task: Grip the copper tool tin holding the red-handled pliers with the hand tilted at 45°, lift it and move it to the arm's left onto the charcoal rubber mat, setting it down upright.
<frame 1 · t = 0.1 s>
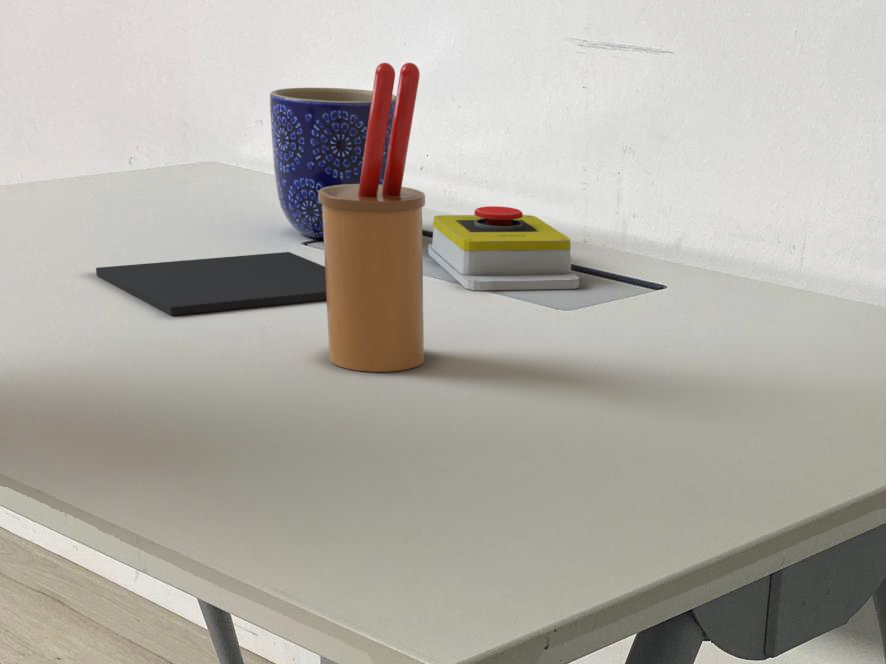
planter: (340, 236, 127), on the table
emergency button: (500, 271, 117), on the table
pliers tin: (376, 359, 92), on the table
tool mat: (235, 285, 107), on the table
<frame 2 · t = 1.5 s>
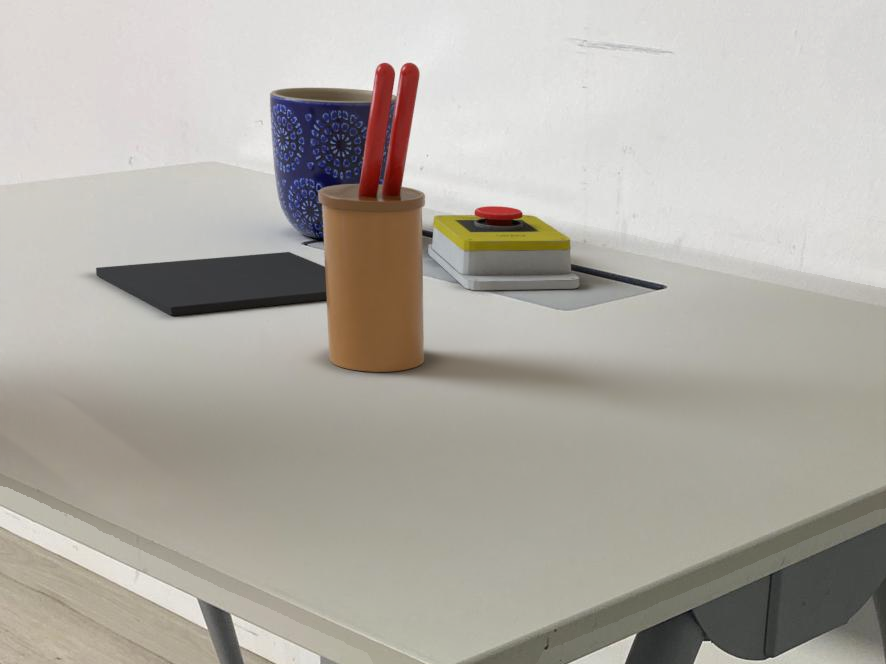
nothing on the table moved.
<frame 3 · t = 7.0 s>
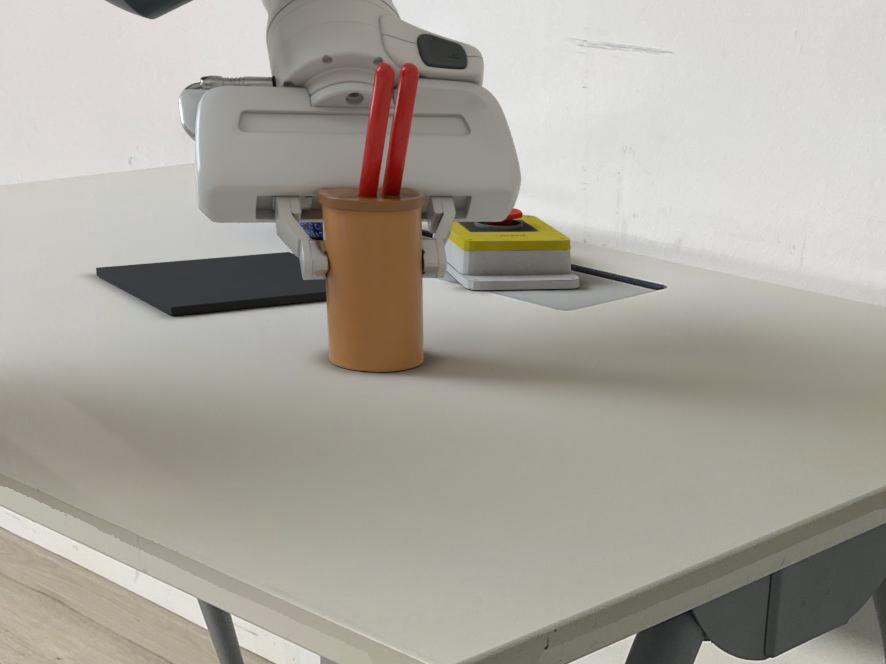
hand: (376, 273, 88), 5 cm above the table, tool tilted 45°, fingers closed on pliers tin, 6 cm apart
pliers tin: (376, 359, 92), on the table, touching gripper
everything else where it was.
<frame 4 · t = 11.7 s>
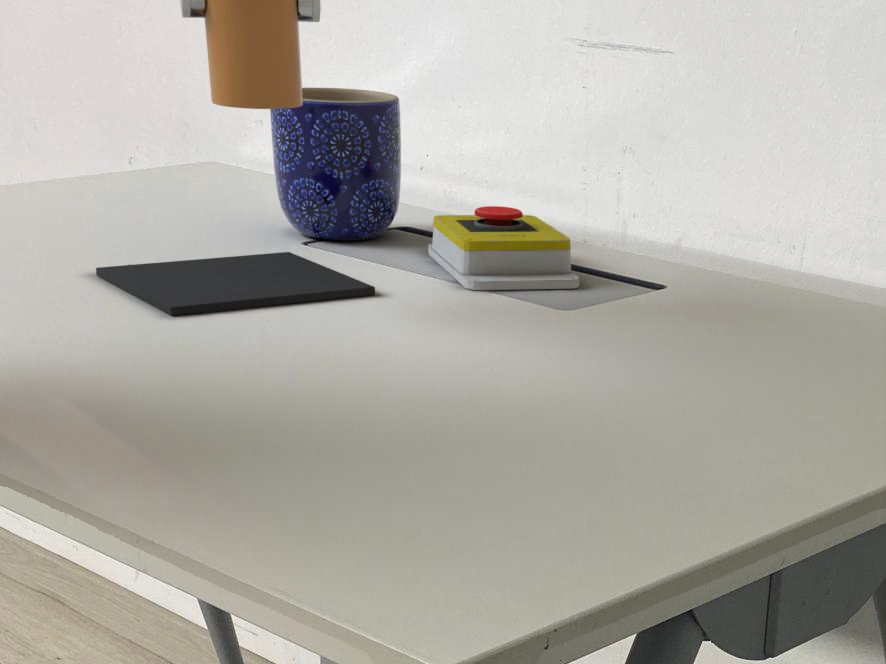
hand: (252, 13, 93), 18 cm above the table, tool tilted 45°, fingers closed on pliers tin, 6 cm apart
pliers tin: (257, 103, 96), point 13 cm above the table, touching gripper
everything else where it was.
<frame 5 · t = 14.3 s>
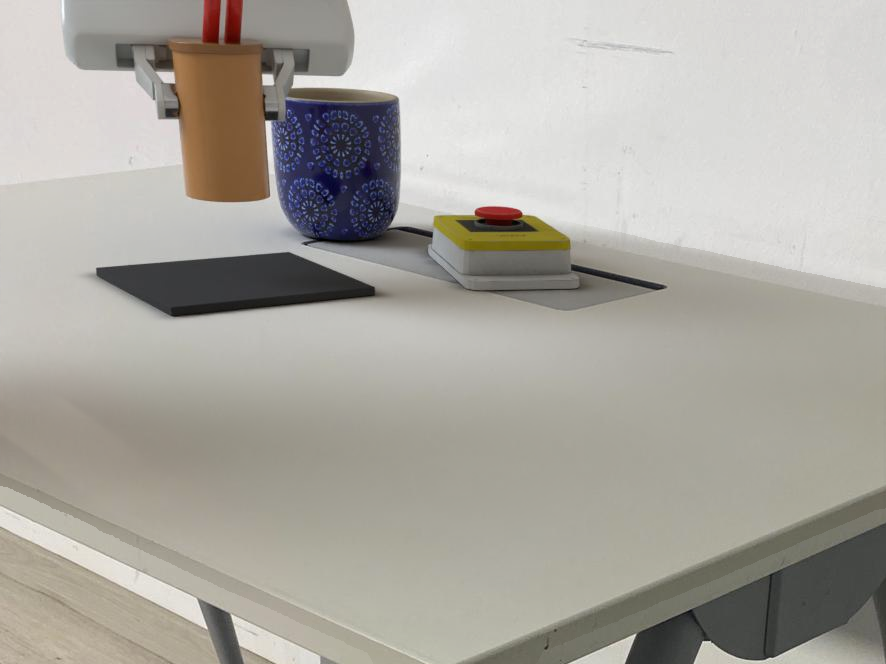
hand: (223, 115, 101), 12 cm above the table, tool tilted 45°, fingers closed on pliers tin, 6 cm apart
pliers tin: (228, 195, 104), point 6 cm above the table, touching gripper
everything else where it was.
when the fingers open (6 cm above the table, at t = 16.5 s): pliers tin stays where it is, resting on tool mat.
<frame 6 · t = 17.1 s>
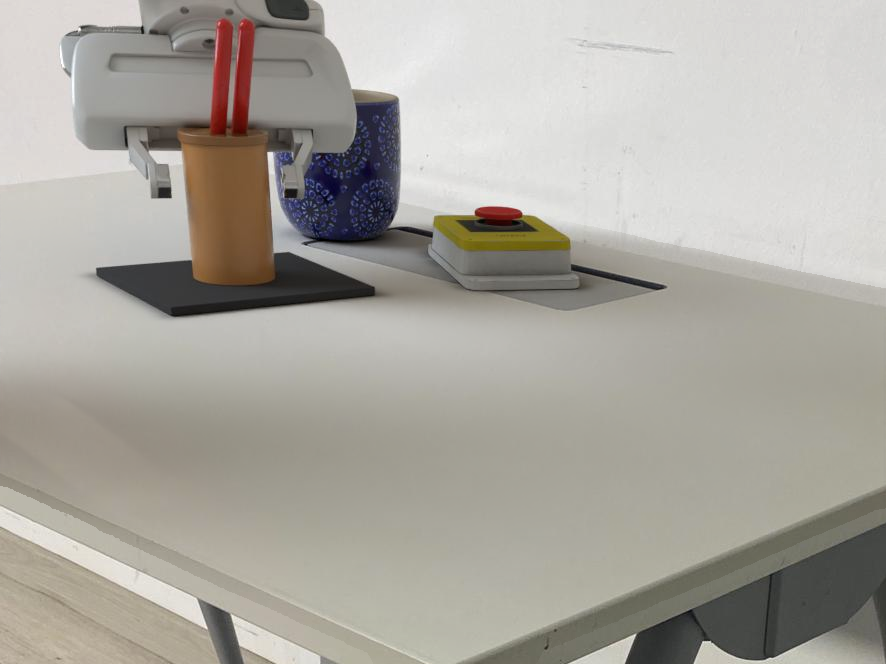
hand: (228, 193, 104), 7 cm above the table, tool tilted 45°, fingers open, 8 cm apart
pliers tin: (234, 277, 107), point 1 cm above the table, touching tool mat
everything else where it was.
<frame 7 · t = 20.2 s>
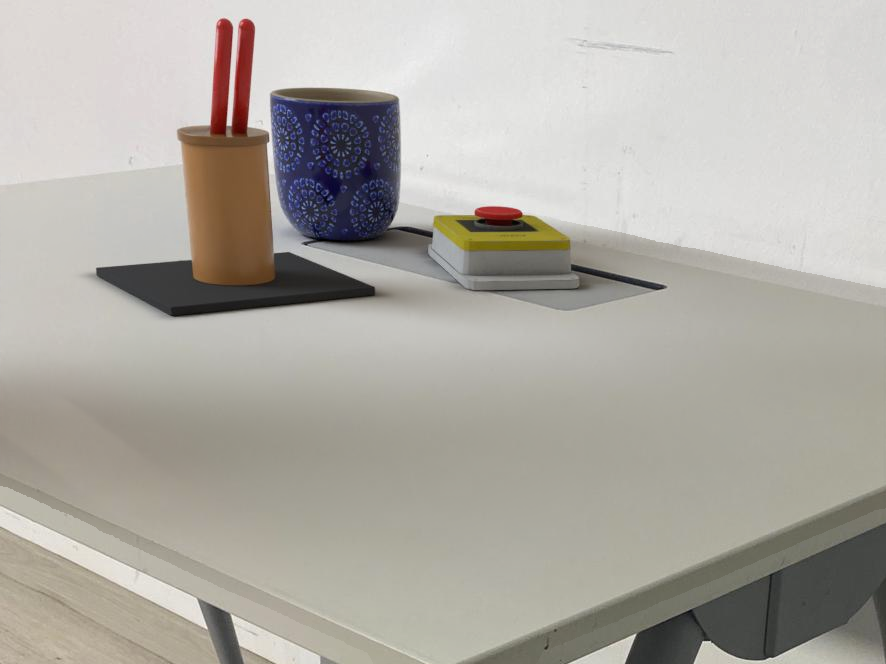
nothing on the table moved.
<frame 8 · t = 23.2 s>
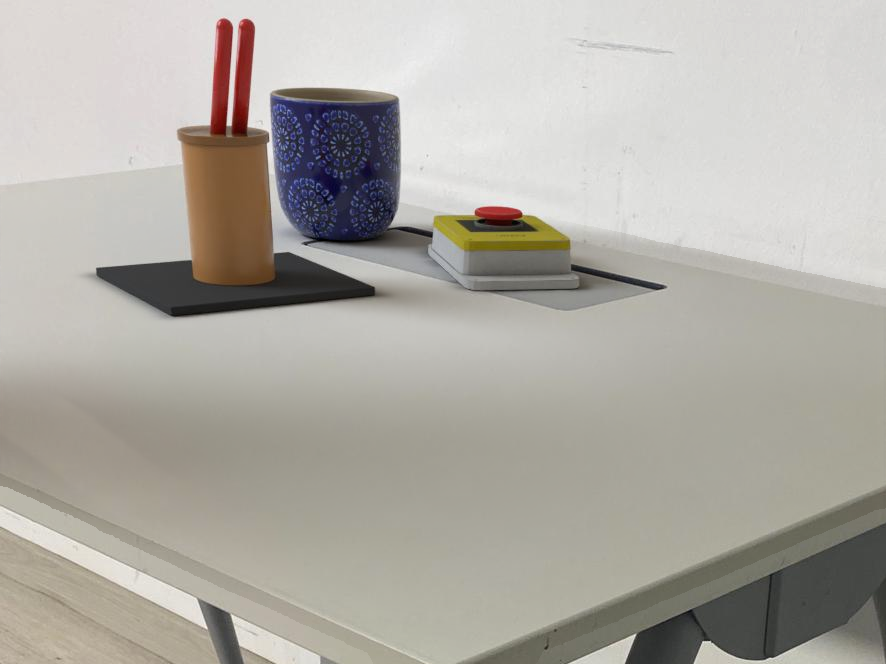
nothing on the table moved.
at the end: pliers tin inside the target area on the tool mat (0.0 cm from its centre), point 0.6 cm above the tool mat's base; pliers tin tilted 0°; the gripper is holding nothing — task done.
